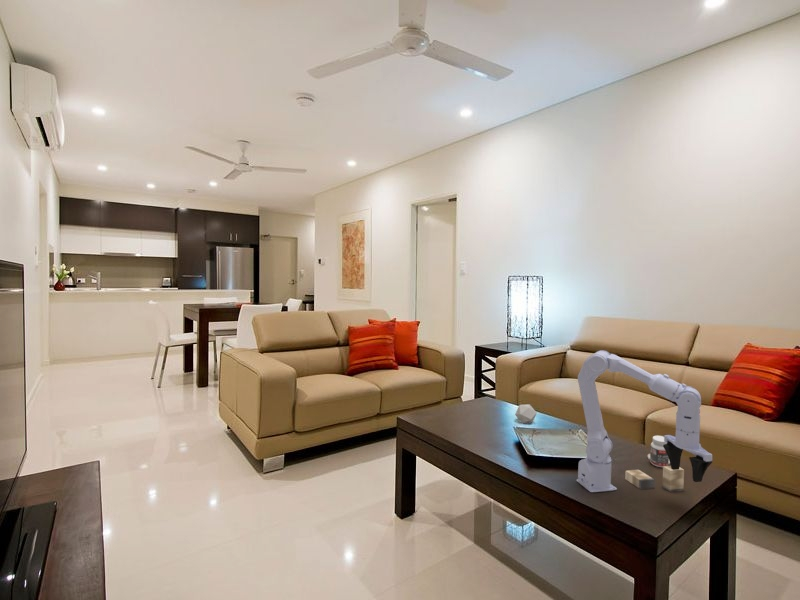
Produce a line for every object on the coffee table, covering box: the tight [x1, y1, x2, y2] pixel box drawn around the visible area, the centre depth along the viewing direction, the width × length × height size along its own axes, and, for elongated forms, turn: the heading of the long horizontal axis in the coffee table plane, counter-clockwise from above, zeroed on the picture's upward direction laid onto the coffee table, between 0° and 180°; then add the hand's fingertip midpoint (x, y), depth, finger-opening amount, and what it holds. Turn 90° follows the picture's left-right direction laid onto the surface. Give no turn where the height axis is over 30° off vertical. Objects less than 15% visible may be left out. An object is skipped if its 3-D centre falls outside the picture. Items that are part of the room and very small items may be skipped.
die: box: [514, 404, 538, 424], centre depth 195 cm, size 8×9×10 cm
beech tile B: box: [661, 465, 685, 493], centre depth 133 cm, size 5×3×7 cm, turn 100°
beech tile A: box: [624, 469, 655, 490], centre depth 137 cm, size 5×3×7 cm
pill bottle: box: [649, 435, 669, 468], centre depth 150 cm, size 6×6×10 cm
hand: (685, 475), depth 121 cm, fingers open, 7 cm apart
